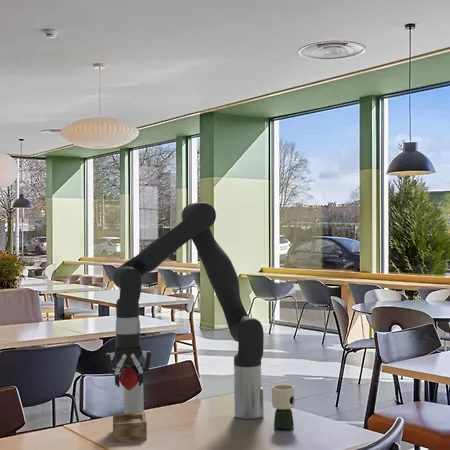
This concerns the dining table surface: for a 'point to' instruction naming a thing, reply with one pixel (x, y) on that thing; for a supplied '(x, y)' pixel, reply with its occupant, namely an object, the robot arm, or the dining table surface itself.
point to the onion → (129, 377)
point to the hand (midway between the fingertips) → (129, 385)
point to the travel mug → (133, 397)
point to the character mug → (283, 405)
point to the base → (129, 427)
